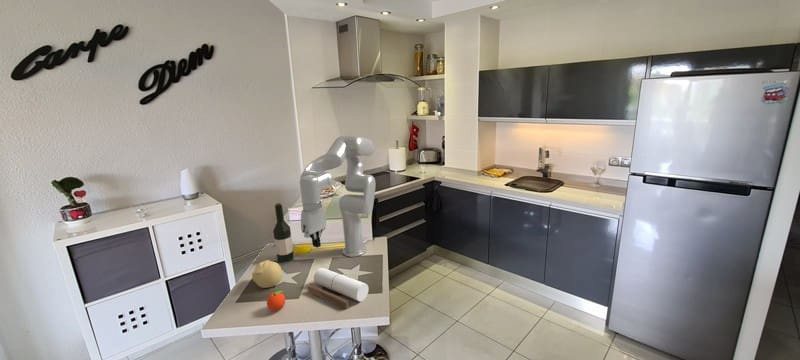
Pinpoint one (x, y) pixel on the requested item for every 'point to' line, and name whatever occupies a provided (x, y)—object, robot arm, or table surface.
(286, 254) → the wine bottle
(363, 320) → the table surface
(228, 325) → the table surface
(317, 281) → the cylindrical container
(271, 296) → the clementine
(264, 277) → the pale yellow lumpy blob
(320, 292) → the cradle rails
